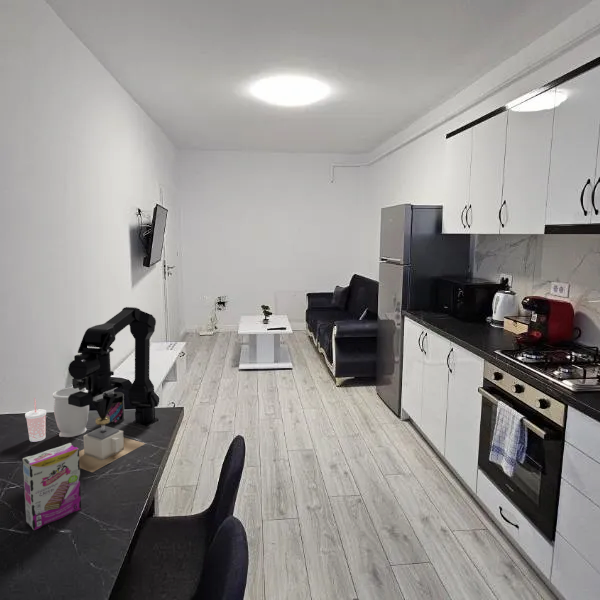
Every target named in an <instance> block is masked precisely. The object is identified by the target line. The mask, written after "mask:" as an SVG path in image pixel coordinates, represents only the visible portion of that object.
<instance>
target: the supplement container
mask: <svg viewBox="0 0 600 600" xmlns="http://www.w3.org/2000/svg"><path fill="white" fill-rule="evenodd" d="M114 394H117V397H115V399H114V401H113V403H112V404H111V406H110V408H109V410H108V413H107V415H106V416H109V417H110V422H109V423H108V424H107V425H117V424H121V423H123V422H124V421H125V400H124V399H125V397H124V396H125V394H124V392H121V391H114Z"/></svg>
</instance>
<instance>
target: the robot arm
mask: <svg viewBox="0 0 600 600" xmlns="http://www.w3.org/2000/svg"><path fill="white" fill-rule="evenodd" d="M156 325H157V320H156V318H155V317H154V315H153V314H150V313H148V312H146V311H143V310H141V309H140V308H138V307H134V306H130V307H129V306H125V307H123V308H122V309H121V311H120V312H118V313H116V314H115V315H114V316H112V317H111V318H109V320H107V321H106V322H104V323H102V324H95V325H93V326H91V327H88V328H87V329H86V330H85V332H84V334H83V337H82V338H81V341H80V345H79V347H78V350H77V354H75V355H73V359H74V360H71V361H70V363H69V364H68V368H67V369H68V373H69V375H70V376H71V377H72V379H71V385H72V387H73V388H74V389H76V388H79V390H82V389H83V388H86V390H88V393H86V392H82V391H79V392H76V393H73V394H70V396H69V397H68V404H70V405H74V406H77V407H84V406H87V405H89V406H90V405H92V404H93V406H94V407H95V408H94V409H96V412H97V414H98V417H100V418H101V419H104V418H105V417H106V415H107V413H108V410H109V408H110V406H111V404H112V403H113V401H114V399H115V397H117V394H114V392H115V390H118V389H120V388H121V390H122V391H124V392H126V391H128V395H127V397H128V400H129V404H130V406H131V407H132V408H133V407H135V411H134V417H135V418H134V420H132V423H133V424H138V425H140V426H144V427H147V426H149V425H151V424H153V423H155V422H157V421H159V418H158V417H156V408H158V407H159V404H160V397H159V396H158V395H157V393H156V392H155V385H154V384H153V382H152V381H151V379H150V350H151V349H150V345H151V344H150V343H151V342H150V340H151V337H152V336H153V335H154V332H155V330H156V329H155V328H156ZM128 326H129V331H130V334H131V335H132V336H133V337H132V338H134V380H133V382H131V380H130V379H128V378H123V377H116V378H114V379H112V376H114V373H115V371H112V370H111V354H110V353H111V352H113V351H114V348H113V347H112V344H113V343H114V342H115V341H116V336H117V334H119V333H120V332H121V331H122V330H124V329H125V328H126V327H128ZM156 420H157V421H156Z"/></svg>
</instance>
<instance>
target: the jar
mask: <svg viewBox="0 0 600 600" xmlns="http://www.w3.org/2000/svg"><path fill="white" fill-rule="evenodd" d="M79 391H82V392H86V393H88V392H89V390H86V388H83V389H82V390H79V388H76V389H74V388H73V386H71V387H64V388H60V389H59V390H56V391H54V392H53V393H52V397H53V399H54V403H53V413H54V415H53V416H54V419H55V423H56V426H57V429H58V430H59V431H60V432H59V433H58V434H59V435H58V436H59V437H60V438H61V437H64V438H71V437H77V436H80V435H82V434H85V433H86V431H87V430H88V429H87V424H88V421H89V413H90V405H87V406H84V407H77V406H74V405H70V404H68V397H69V396H70V394H73V393H76V392H79Z"/></svg>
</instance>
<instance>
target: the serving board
mask: <svg viewBox="0 0 600 600" xmlns="http://www.w3.org/2000/svg"><path fill="white" fill-rule="evenodd" d="M123 440H124V449H123V450H122V451H120V452H118V453H116V454H114V455H112V456H110V457H108V458H106V459H104V460H100V459H97V458H94V457H91V456H88V455H85V454H84V448H83V449H81V450H79V466H80V470H81V469H82V470H85V471H86V472H90V473H94V472H96V471H97V470H99V469H101V468H103V467H105V466H106V465H109V464H110V463H113V462H115V461H116V460H118V459H119V458H122V457H124V456H126V455H127V454H129V453H131V452H133V451H135V450H137V449H139V448H140V447H142V446H144V445H146V443H145V442H141V441H137V440H135V439H132V438H128V437H126V436H125V437H124V436H123Z"/></svg>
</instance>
